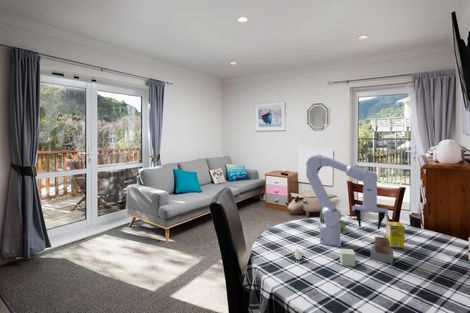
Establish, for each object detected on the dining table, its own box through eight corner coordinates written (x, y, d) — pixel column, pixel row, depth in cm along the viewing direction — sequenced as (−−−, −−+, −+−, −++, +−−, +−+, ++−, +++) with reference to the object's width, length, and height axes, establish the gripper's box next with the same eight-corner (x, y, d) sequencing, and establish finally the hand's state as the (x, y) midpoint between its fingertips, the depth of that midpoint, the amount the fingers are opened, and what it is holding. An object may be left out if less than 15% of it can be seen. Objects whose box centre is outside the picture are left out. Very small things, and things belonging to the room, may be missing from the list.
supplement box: (404, 249, 124) (404, 226, 123) (390, 248, 125) (390, 225, 124) (399, 244, 130) (399, 222, 129) (385, 243, 131) (386, 221, 130)
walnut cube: (376, 252, 114) (376, 240, 114) (374, 247, 119) (375, 236, 118) (389, 254, 112) (389, 242, 112) (387, 249, 117) (388, 238, 117)
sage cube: (342, 265, 110) (342, 253, 109) (339, 260, 115) (339, 248, 114) (355, 266, 109) (355, 254, 108) (352, 260, 114) (352, 249, 113)
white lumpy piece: (296, 253, 122) (296, 244, 122) (312, 259, 117) (312, 249, 116) (285, 259, 116) (285, 250, 116) (301, 266, 110) (301, 256, 110)
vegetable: (344, 230, 143) (318, 215, 149) (337, 240, 153) (313, 225, 159) (352, 213, 150) (327, 200, 155) (345, 224, 159) (321, 210, 165)
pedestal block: (370, 260, 115) (370, 252, 114) (372, 253, 121) (372, 245, 121) (392, 264, 110) (392, 256, 110) (393, 257, 117) (393, 249, 117)
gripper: (351, 198, 122) (351, 228, 123) (388, 201, 116) (387, 232, 117) (352, 195, 128) (352, 223, 129) (387, 198, 122) (386, 227, 123)
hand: (369, 227), depth 124 cm, fingers open, 7 cm apart
